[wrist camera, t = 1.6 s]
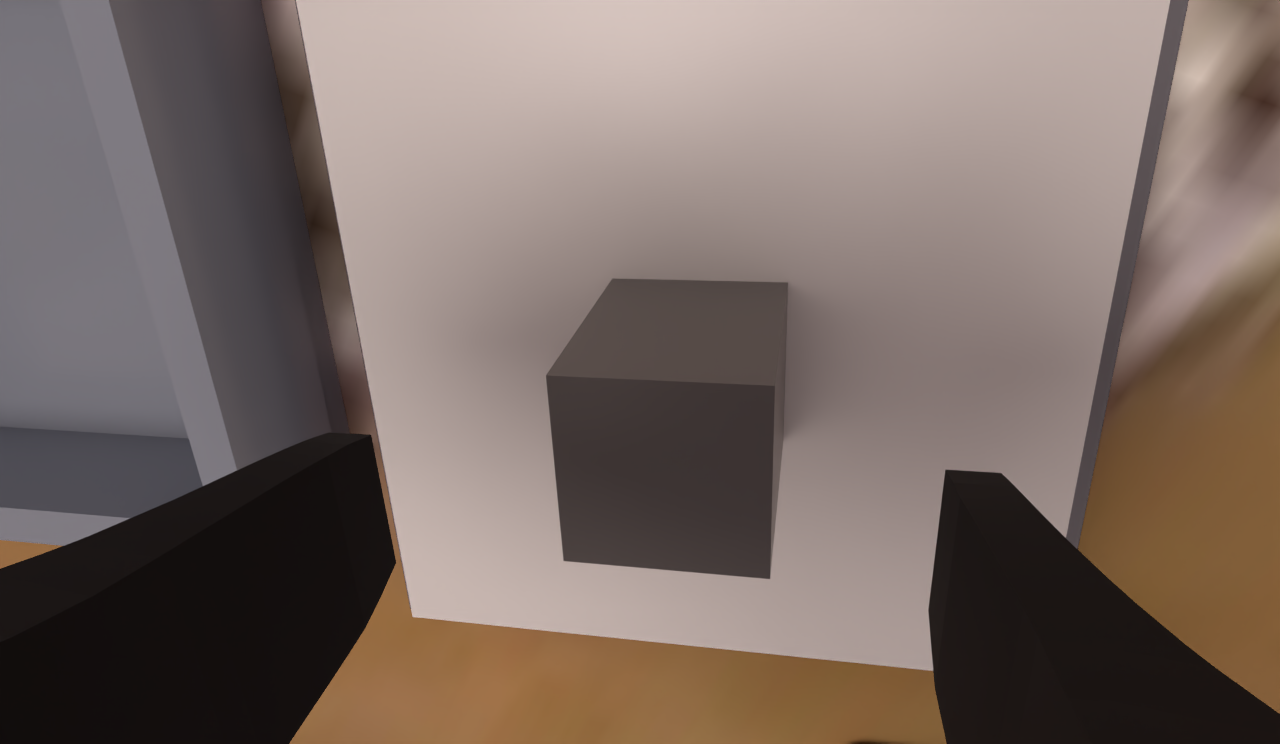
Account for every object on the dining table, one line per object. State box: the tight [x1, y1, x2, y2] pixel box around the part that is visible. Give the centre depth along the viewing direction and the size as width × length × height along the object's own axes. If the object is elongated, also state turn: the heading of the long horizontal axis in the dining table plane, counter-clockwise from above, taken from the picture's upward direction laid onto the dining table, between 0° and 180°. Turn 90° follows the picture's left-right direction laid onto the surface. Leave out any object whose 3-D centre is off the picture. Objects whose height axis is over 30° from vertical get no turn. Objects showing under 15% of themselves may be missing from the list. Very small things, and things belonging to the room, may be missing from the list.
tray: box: [0, 0, 350, 546], centre depth 17 cm, size 11×11×4 cm
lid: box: [296, 0, 1170, 671], centre depth 14 cm, size 13×13×5 cm
